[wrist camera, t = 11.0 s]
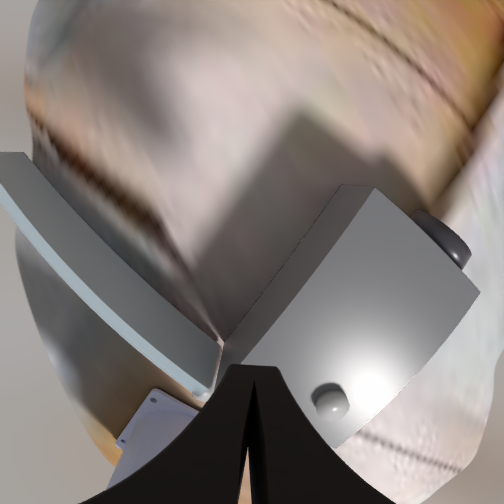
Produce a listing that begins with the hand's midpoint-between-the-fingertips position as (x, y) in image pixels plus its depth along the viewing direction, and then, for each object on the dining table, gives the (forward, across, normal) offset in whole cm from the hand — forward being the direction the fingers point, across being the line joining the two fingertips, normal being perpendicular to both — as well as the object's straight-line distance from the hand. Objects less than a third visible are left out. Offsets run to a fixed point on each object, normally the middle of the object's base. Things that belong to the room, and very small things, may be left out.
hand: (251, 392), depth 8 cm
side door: (+9, +9, -1) cm, 13 cm away
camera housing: (+9, -5, +1) cm, 10 cm away
